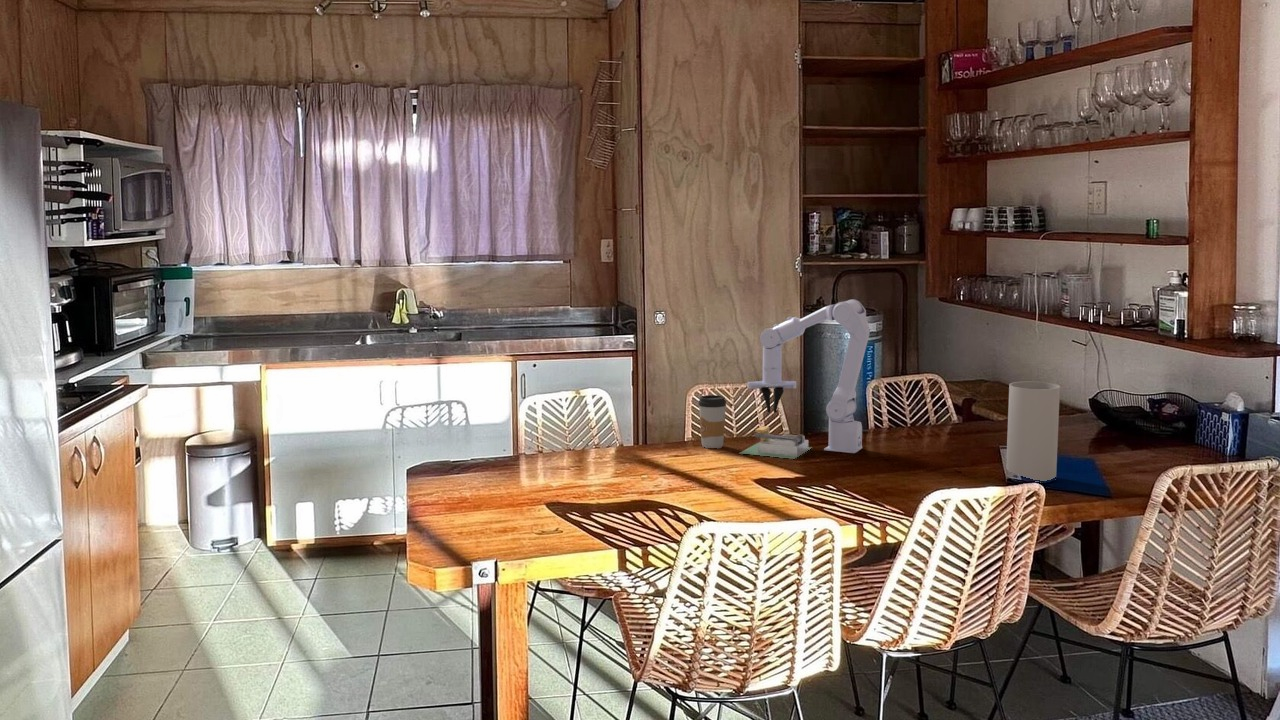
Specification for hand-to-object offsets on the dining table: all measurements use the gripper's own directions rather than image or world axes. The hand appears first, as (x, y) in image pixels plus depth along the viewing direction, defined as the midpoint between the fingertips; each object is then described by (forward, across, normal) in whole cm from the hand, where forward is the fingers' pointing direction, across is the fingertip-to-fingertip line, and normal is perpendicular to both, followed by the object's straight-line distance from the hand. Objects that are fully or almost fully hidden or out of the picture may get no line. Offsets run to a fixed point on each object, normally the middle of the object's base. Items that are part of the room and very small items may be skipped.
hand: (771, 412), depth 352 cm
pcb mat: (+9, 0, -12) cm, 15 cm away
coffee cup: (+10, -18, -5) cm, 21 cm away
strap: (+6, 0, -14) cm, 15 cm away
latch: (+9, -4, -7) cm, 12 cm away
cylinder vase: (+10, +62, -49) cm, 80 cm away
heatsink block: (+9, +2, -14) cm, 17 cm away
